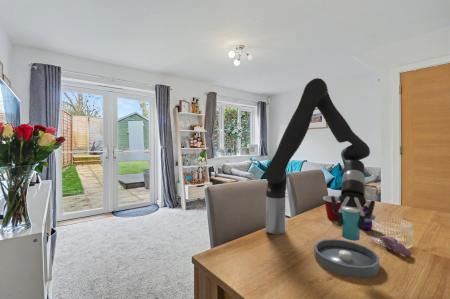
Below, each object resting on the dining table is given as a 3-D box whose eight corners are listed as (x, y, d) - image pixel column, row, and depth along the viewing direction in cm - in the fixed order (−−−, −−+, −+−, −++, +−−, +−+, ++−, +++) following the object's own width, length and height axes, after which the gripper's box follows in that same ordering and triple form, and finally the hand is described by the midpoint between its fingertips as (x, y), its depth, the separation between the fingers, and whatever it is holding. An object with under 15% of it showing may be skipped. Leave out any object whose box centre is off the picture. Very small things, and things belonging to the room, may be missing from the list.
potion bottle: (354, 224, 118) (354, 202, 118) (374, 227, 114) (374, 204, 114) (355, 230, 110) (356, 206, 110) (376, 233, 106) (377, 208, 106)
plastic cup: (323, 220, 124) (323, 199, 123) (322, 214, 134) (322, 195, 133) (345, 223, 120) (345, 201, 119) (342, 217, 130) (343, 196, 129)
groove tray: (320, 273, 74) (320, 263, 74) (310, 245, 95) (310, 237, 95) (391, 282, 70) (391, 271, 70) (365, 250, 90) (365, 241, 90)
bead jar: (344, 239, 74) (344, 210, 74) (339, 233, 80) (340, 205, 79) (362, 241, 73) (362, 211, 73) (356, 234, 78) (356, 206, 78)
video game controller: (382, 249, 94) (376, 235, 94) (391, 244, 94) (385, 229, 94) (403, 262, 84) (396, 246, 84) (413, 256, 85) (406, 240, 84)
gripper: (331, 177, 86) (325, 217, 76) (376, 180, 78) (376, 225, 68) (333, 188, 90) (328, 227, 81) (375, 192, 83) (376, 236, 73)
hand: (350, 226), depth 75 cm, fingers closed on bead jar, 5 cm apart
